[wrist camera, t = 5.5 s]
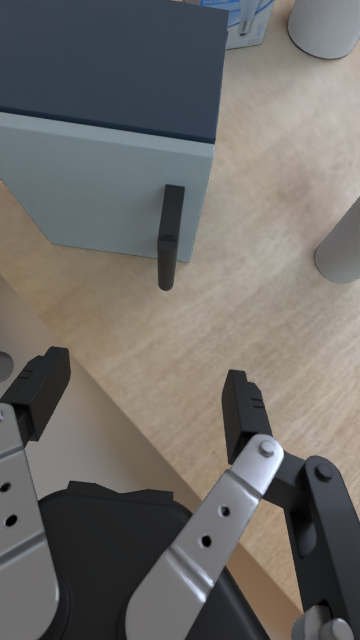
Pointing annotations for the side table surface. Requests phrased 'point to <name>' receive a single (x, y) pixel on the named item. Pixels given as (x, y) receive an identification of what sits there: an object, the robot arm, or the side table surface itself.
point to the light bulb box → (242, 19)
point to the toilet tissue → (325, 26)
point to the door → (107, 187)
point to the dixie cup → (341, 249)
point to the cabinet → (115, 64)
